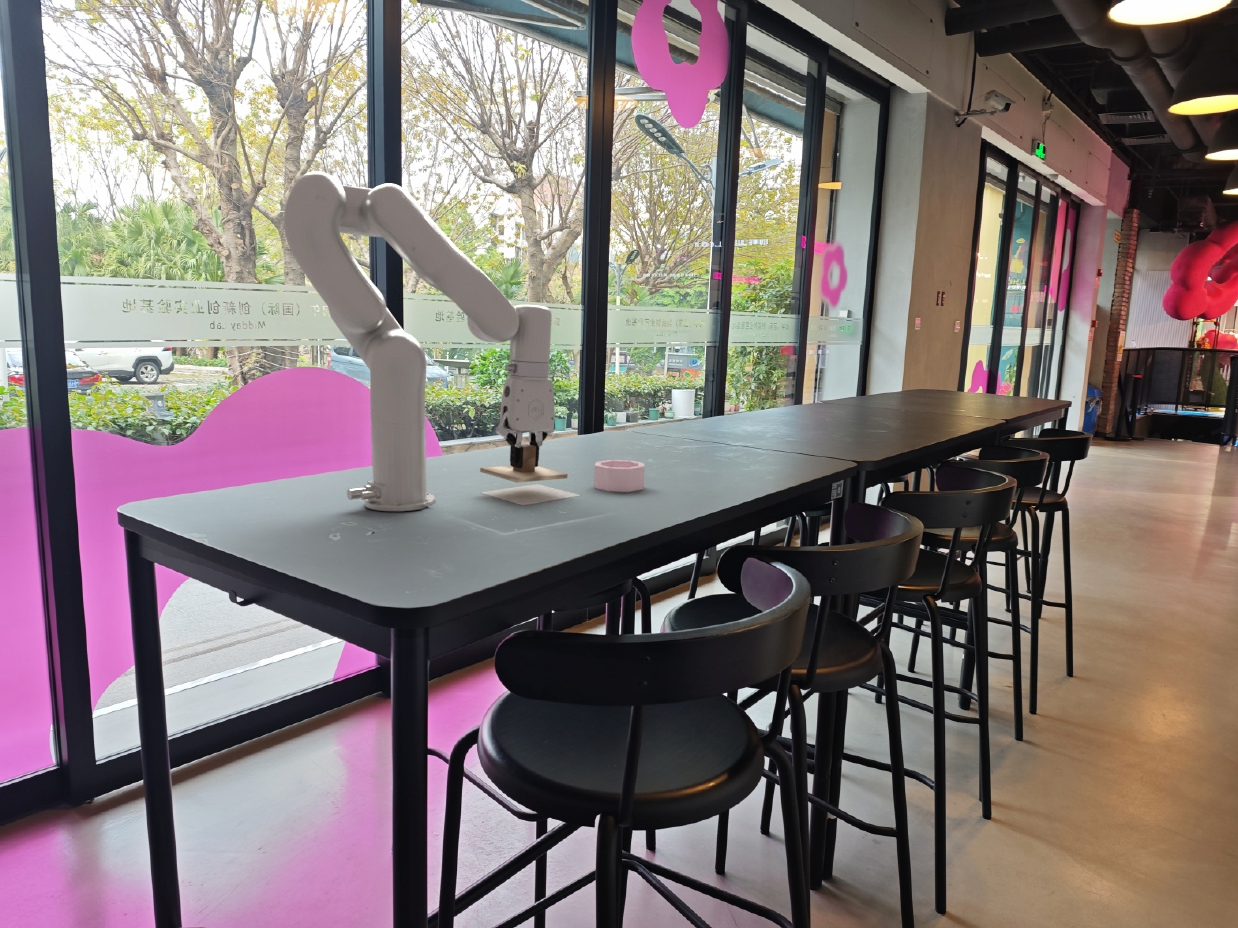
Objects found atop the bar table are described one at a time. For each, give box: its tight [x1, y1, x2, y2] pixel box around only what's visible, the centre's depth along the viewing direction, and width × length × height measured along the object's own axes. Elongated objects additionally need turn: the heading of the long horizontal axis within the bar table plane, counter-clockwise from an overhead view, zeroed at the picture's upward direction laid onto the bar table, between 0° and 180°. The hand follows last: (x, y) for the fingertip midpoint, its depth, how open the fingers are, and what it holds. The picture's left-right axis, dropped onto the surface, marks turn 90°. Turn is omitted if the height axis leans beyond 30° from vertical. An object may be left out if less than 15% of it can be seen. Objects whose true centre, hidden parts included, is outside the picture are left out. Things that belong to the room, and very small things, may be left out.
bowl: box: [593, 459, 645, 493], centre depth 172 cm, size 10×10×5 cm
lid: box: [479, 443, 568, 483], centre depth 161 cm, size 12×12×6 cm
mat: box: [480, 483, 581, 506], centre depth 163 cm, size 14×14×1 cm
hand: (524, 465), depth 161 cm, fingers closed on lid, 3 cm apart
